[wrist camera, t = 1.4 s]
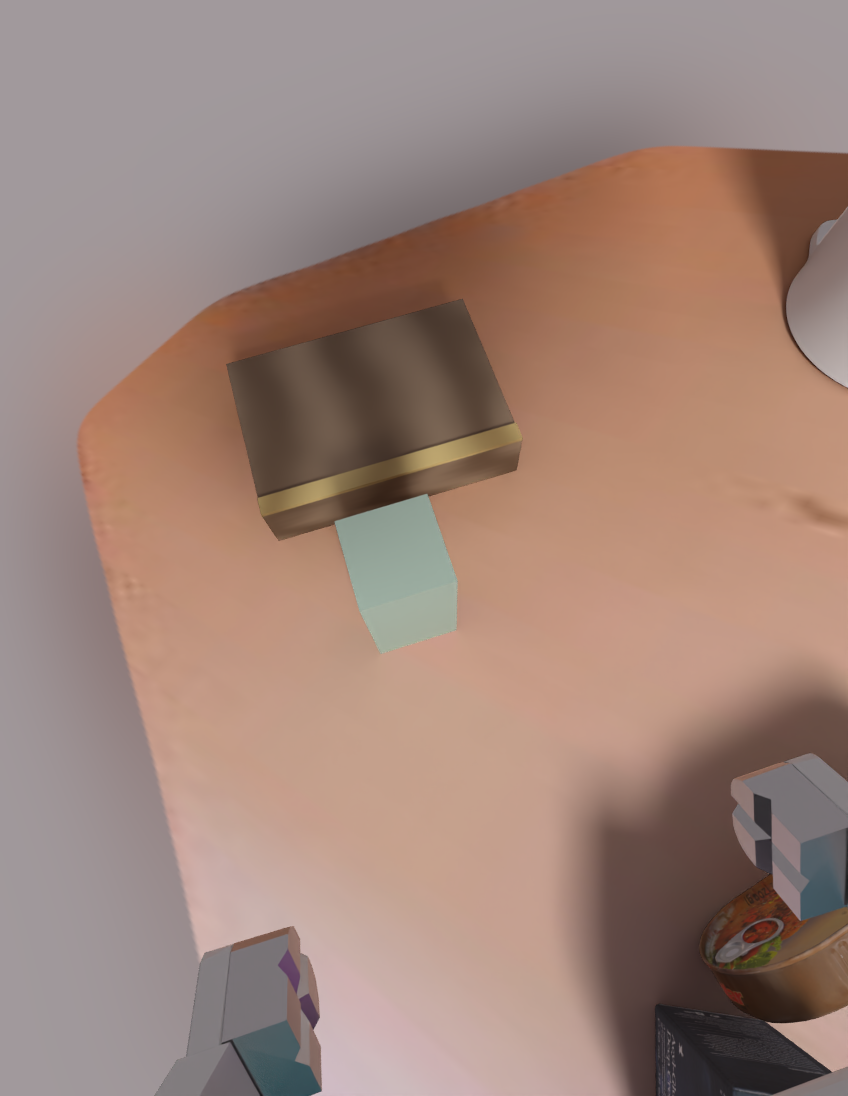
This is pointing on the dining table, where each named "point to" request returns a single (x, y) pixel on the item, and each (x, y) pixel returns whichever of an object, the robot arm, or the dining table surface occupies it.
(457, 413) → the block
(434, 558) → the block
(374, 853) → the dining table surface
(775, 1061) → the box
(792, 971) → the tin
